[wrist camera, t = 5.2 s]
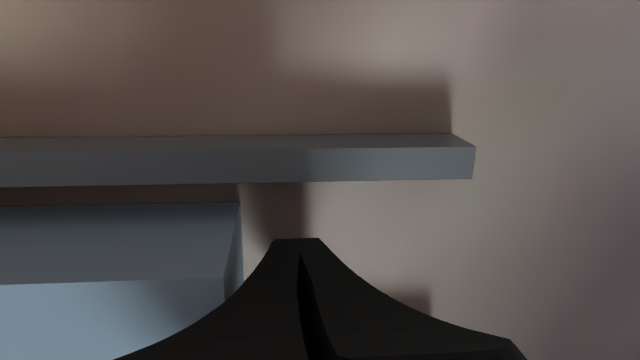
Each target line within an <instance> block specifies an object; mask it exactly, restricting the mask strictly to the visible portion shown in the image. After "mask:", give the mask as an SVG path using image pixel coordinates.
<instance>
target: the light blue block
mask: <svg viewBox="0 0 640 360" xmlns="http://www.w3.org/2000/svg"><path fill="white" fill-rule="evenodd" d="M243 283H244V278H243V256H242V233H241V210H240V202H212V203H160V204H109V205H58V206H6V207H0V360H113V359H116V358H119V357H122V356H124V355H127V354H129V353H132V352H134V351H137V350H139V349H142V348H145V347H147V346H150V345H152V344H155V343H157V342H159V341H161V340H163V339H165V338H167V337H169V336H171V335H173V334H175V333H177V332H179V331H181V330H183V329H185V328H186V327H188V326H190V325H192V324H193V323H195V322H197V321H198V320H199V319H201V318H202V317H204V316H205V315H207V314H208V313H210V312H211V311H213V310H214V309H216V308H217V307H218V306H220V305H221V304H222V303H223V302H225V301H226V300H227V299H228V298H229V297H230V296H231V295H232V294H233V293H234V292H235V291H236V290H237V289H238V288H239V287H240V286H241V285H242V284H243Z"/></svg>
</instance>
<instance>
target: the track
mask: <svg viewBox="0 0 640 360" xmlns="http://www.w3.org/2000/svg"><path fill="white" fill-rule="evenodd" d="M475 150H476V147H475V146H474V145H472V144H470V143H468V142H466V141H465V140H463V139H461V138H459V137H458V136H456V135H454V134H364V135H251V136H138V137H24V138H0V187H48V186H103V185H158V184H213V183H268V182H323V181H377V180H432V179H472V175H473V167H474V159H475Z"/></svg>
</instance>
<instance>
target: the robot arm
mask: <svg viewBox="0 0 640 360" xmlns="http://www.w3.org/2000/svg"><path fill="white" fill-rule="evenodd" d="M113 360H527V359H526V358H525V356H524V355H523V354H522V353H521V352H520V350H519V349H518V348H517V347H516V346H515V345H514V344H513V342H512V341H511V340H510V339H507V338H503V337H499V336H495V335H490V334H486V333H482V332H478V331H474V330H470V329H466V328H463V327H460V326H457V325H454V324H451V323H448V322H445V321H442V320H439V319H436V318H434V317H431V316H428V315H426V314H423V313H421V312H419V311H417V310H415V309H413V308H410V307H408V306H406V305H404V304H402V303H400V302H398V301H396V300H394V299H393V298H391V297H389V296H388V295H386V294H384V293H383V292H381V291H379V290H378V289H376V288H374V287H373V286H372V285H370V284H369V283H367V282H366V281H365V280H363V279H362V278H361V277H359V276H358V275H357V274H355V273H354V272H353V271H352V270H351V269H350V268H348V267H347V266H346V265H345V264H344V263H343V262H342V261H341V260H340V259H339V258H338V257H337V256H336V255H335V254H334V253H333V252H332V251H331V250H330V249H329V248H328V247H327V246H326V245H325V244H324V243H323V242H322V241H321V240H320V239H319V238H294V239H275V240H274V241H273V242H272V243H271V245H270V247H269V249H268V251H267V252H266V254H265V256H264V257H263V259H262V260H261V262H260V263H259V264H258V266H257V267H256V268H255V270H254V271H253V272H252V274H251V275H250V276H249V277H248V278H247V279H246V280H245V282H244V283H243V284H242V285H241V286H240V287H239V288H238V289H237V290H236V291H235V292H234V293H233V294H232V295H231V296H230V297H229V298H228V299H227V300H226V301H225V302H223V303H222V304H221V305H220V306H218V307H217V308H216V309H214V310H213V311H211V312H210V313H208V314H207V315H205V316H204V317H202V318H201V319H199V320H198V321H197V322H195V323H193V324H192V325H190V326H188V327H186V328H185V329H183V330H181V331H179V332H177V333H175V334H173V335H171V336H169V337H167V338H165V339H163V340H161V341H159V342H157V343H155V344H152V345H150V346H147V347H145V348H142V349H139V350H137V351H134V352H132V353H129V354H127V355H124V356H122V357H119V358H116V359H113Z"/></svg>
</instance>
